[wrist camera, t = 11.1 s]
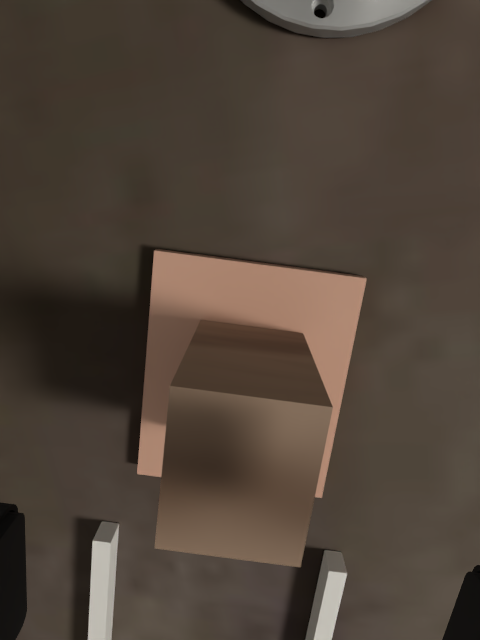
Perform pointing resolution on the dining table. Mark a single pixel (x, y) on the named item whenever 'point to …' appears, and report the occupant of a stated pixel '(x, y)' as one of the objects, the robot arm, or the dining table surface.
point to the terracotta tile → (243, 309)
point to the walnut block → (242, 445)
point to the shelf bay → (105, 575)
